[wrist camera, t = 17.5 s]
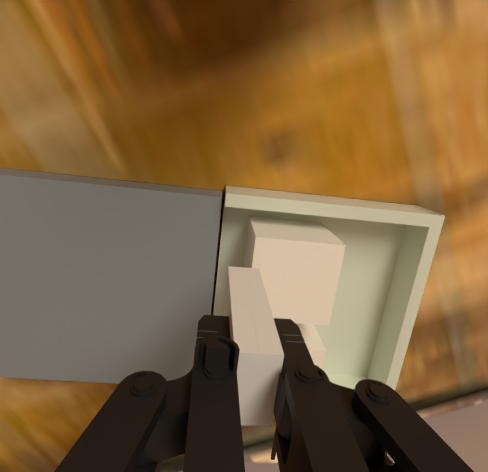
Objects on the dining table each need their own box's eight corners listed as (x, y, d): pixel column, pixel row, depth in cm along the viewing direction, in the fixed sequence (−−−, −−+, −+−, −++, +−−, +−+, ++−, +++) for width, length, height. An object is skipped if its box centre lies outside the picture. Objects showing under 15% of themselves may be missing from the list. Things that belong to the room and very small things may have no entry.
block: (240, 283, 24) (245, 319, 20) (249, 215, 23) (255, 236, 18) (308, 288, 25) (329, 325, 20) (321, 222, 23) (345, 245, 19)
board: (20, 354, 26) (-1, 377, 23) (4, 168, 22) (-23, 172, 19) (205, 365, 27) (203, 388, 25) (222, 190, 23) (222, 197, 21)
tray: (207, 370, 27) (205, 400, 24) (225, 185, 23) (226, 193, 20) (371, 379, 28) (389, 409, 25) (417, 205, 24) (445, 215, 21)
